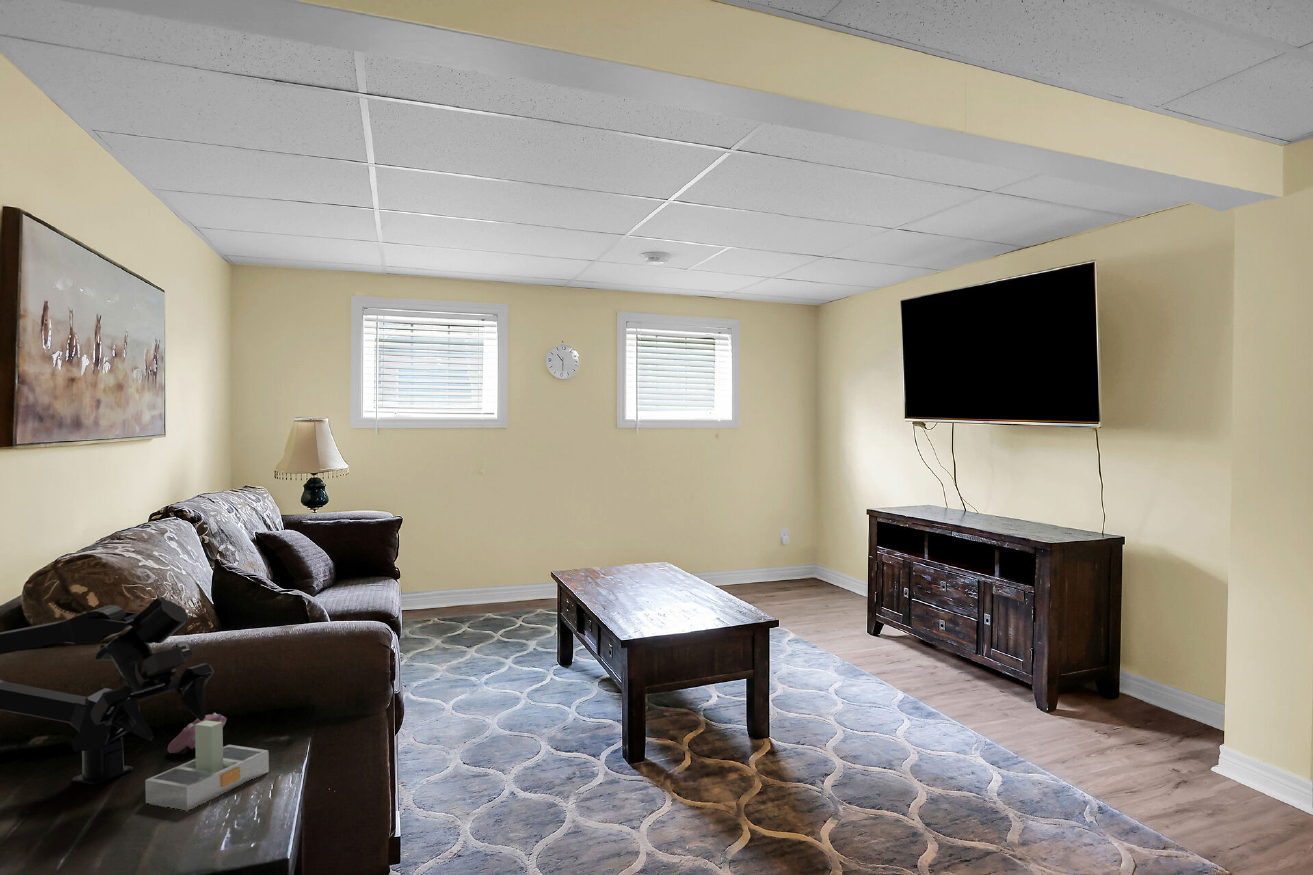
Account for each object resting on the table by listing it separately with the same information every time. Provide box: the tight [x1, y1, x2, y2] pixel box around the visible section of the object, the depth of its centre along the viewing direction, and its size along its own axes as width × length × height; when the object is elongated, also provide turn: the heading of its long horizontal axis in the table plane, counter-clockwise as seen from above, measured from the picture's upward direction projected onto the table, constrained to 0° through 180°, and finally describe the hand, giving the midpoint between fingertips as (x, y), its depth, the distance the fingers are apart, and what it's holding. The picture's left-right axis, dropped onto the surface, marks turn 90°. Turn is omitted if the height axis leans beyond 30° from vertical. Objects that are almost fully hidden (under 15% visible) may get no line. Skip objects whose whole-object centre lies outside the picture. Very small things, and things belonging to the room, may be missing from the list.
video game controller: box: [167, 712, 227, 754], centre depth 142 cm, size 10×5×7 cm, turn 169°
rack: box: [144, 744, 270, 812], centre depth 122 cm, size 10×15×4 cm
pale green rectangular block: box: [194, 720, 224, 773], centre depth 122 cm, size 4×2×10 cm, turn 70°
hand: (178, 728), depth 125 cm, fingers open, 9 cm apart
